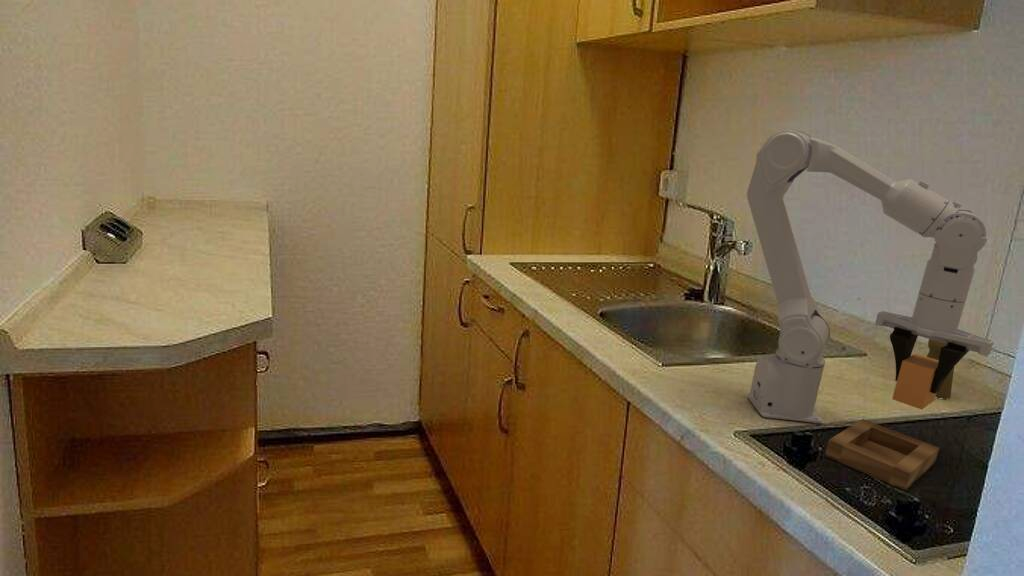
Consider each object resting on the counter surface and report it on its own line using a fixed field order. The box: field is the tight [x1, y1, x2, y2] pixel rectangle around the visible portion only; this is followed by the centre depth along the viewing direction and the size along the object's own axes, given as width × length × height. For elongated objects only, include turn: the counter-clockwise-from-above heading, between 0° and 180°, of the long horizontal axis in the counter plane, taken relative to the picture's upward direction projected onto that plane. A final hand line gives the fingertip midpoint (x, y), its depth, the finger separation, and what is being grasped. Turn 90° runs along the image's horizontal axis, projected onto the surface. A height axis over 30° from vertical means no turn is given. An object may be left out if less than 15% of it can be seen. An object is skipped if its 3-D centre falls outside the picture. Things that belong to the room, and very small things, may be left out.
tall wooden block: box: [892, 353, 939, 410], centre depth 102 cm, size 6×4×6 cm, turn 134°
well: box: [824, 418, 940, 491], centre depth 98 cm, size 12×10×2 cm
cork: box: [926, 339, 955, 400], centre depth 126 cm, size 6×6×11 cm
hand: (916, 385), depth 102 cm, fingers closed on tall wooden block, 4 cm apart
